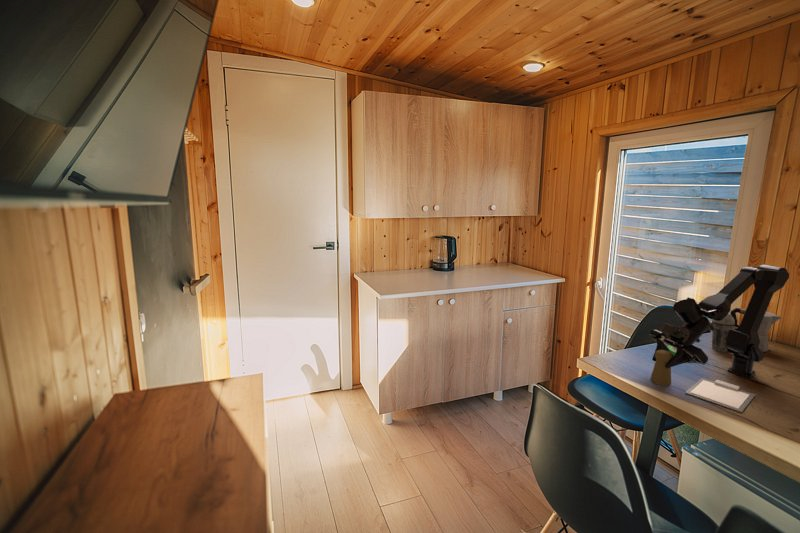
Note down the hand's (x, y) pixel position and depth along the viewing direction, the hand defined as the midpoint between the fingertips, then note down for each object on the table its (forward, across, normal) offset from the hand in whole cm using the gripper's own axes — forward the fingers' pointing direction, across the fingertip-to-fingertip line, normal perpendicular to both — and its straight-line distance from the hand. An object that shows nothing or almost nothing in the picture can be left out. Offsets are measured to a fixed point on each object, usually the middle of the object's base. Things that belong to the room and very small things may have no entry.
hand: (659, 363), depth 130 cm
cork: (+4, 0, +6) cm, 7 cm away
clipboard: (-4, +11, +14) cm, 18 cm away
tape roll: (-14, -17, +25) cm, 33 cm away
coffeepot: (-39, -18, +48) cm, 65 cm away
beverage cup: (-28, -19, +38) cm, 51 cm away
